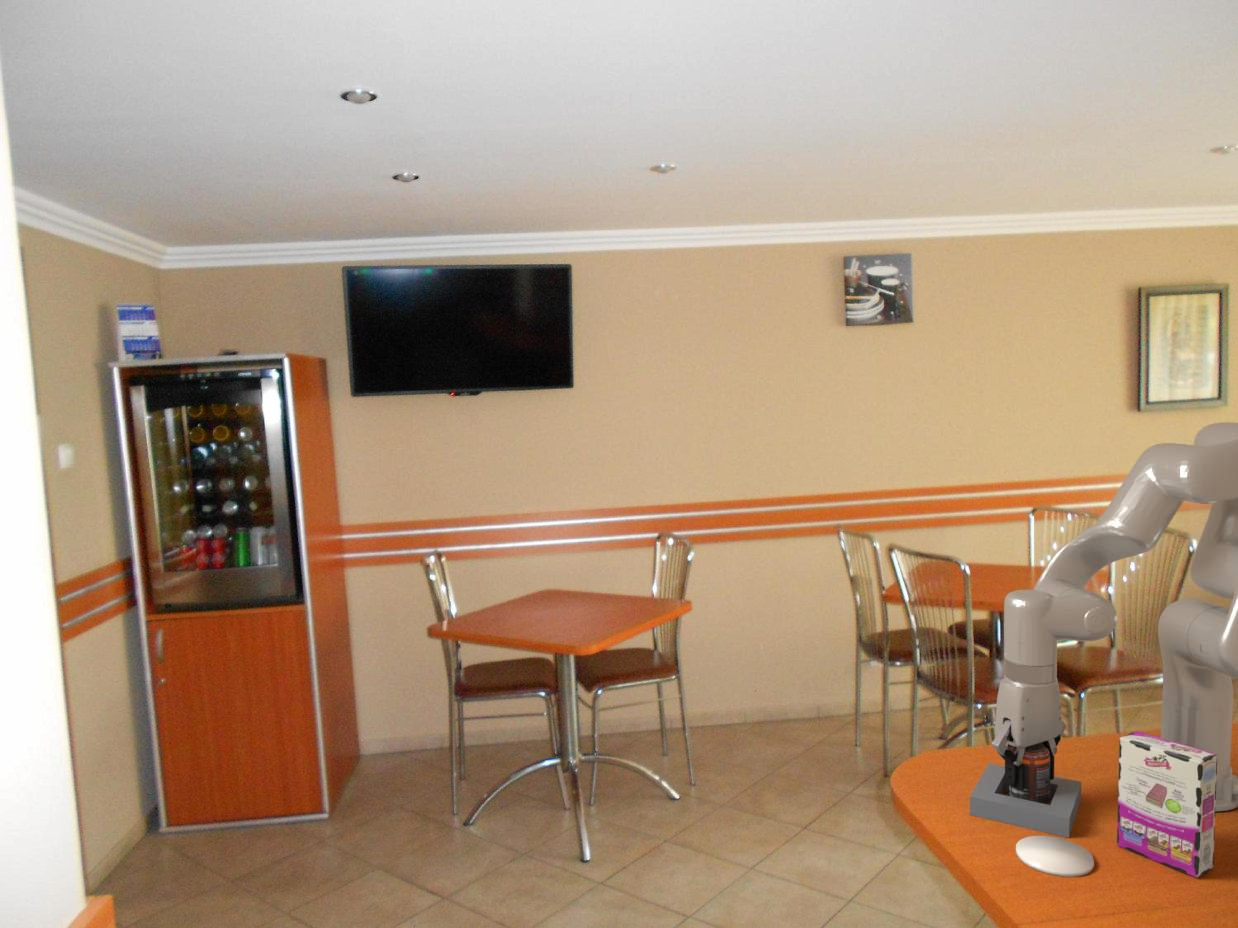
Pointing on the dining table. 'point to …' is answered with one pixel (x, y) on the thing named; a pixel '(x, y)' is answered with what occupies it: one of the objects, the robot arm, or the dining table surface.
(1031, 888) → the dining table surface
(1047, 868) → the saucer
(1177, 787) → the candy bar box
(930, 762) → the dining table surface
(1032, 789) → the supplement bottle
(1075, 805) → the socket block
